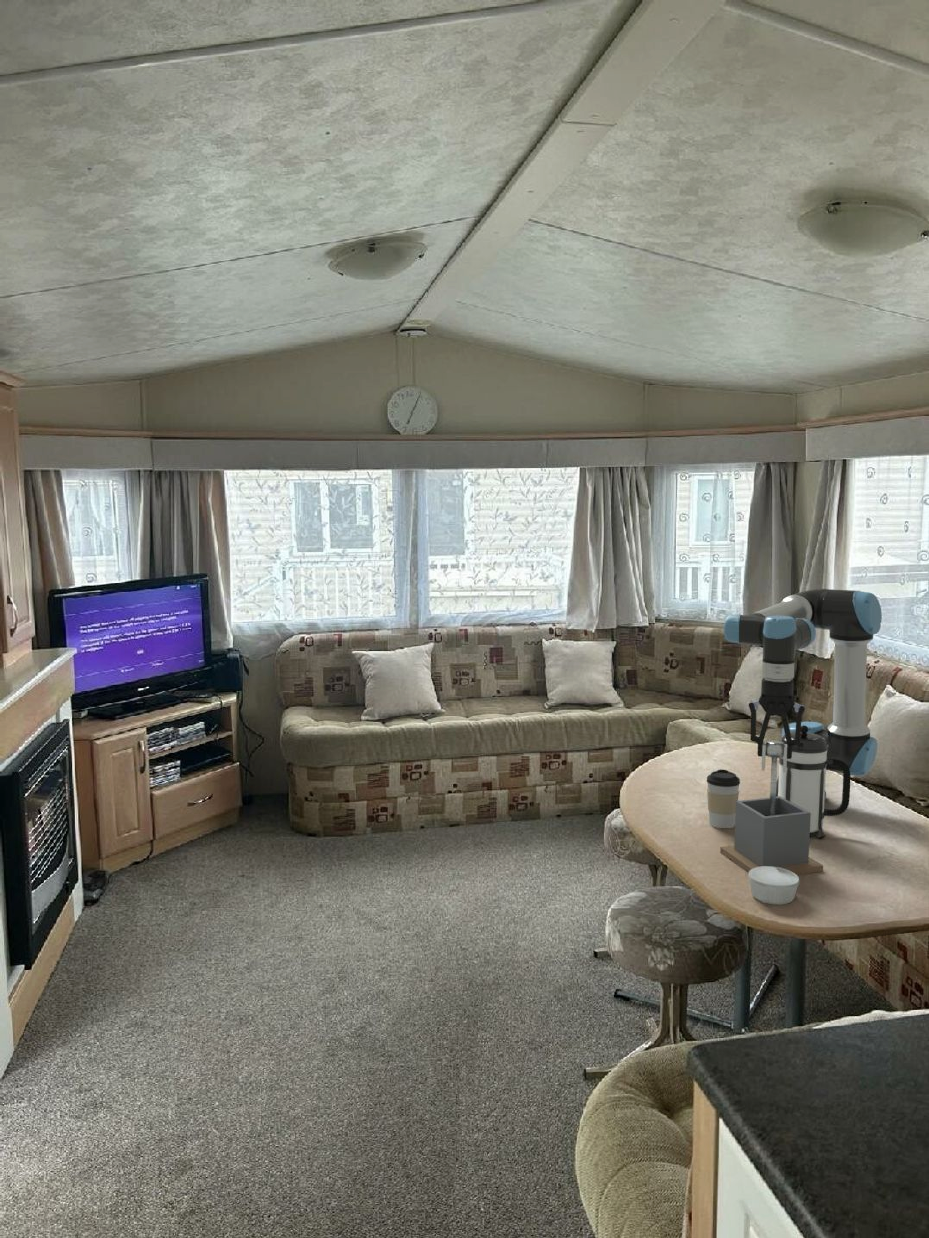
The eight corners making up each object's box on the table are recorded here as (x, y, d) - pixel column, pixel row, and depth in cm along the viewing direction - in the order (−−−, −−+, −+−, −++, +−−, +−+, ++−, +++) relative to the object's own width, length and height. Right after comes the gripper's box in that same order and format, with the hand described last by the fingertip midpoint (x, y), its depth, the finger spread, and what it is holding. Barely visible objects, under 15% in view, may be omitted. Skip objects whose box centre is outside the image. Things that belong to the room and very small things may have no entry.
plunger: (777, 816, 249) (780, 736, 246) (799, 829, 240) (803, 746, 237) (744, 820, 246) (747, 739, 243) (765, 834, 237) (769, 749, 234)
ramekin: (808, 899, 223) (809, 877, 222) (778, 911, 217) (778, 889, 216) (768, 882, 232) (768, 861, 231) (737, 894, 226) (738, 873, 225)
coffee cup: (739, 831, 266) (741, 778, 263) (706, 829, 267) (707, 777, 265) (737, 819, 274) (739, 768, 272) (704, 817, 276) (706, 767, 274)
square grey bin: (780, 844, 255) (782, 792, 253) (822, 871, 238) (825, 815, 236) (720, 852, 251) (722, 798, 249) (758, 879, 234) (761, 822, 231)
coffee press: (807, 846, 254) (812, 736, 250) (759, 828, 267) (763, 723, 263) (849, 833, 263) (854, 726, 259) (801, 816, 277) (805, 714, 272)
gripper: (740, 679, 237) (736, 770, 240) (815, 684, 231) (810, 777, 235) (742, 673, 244) (738, 762, 247) (815, 677, 238) (810, 768, 242)
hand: (773, 769), depth 241 cm, fingers closed on plunger, 4 cm apart
